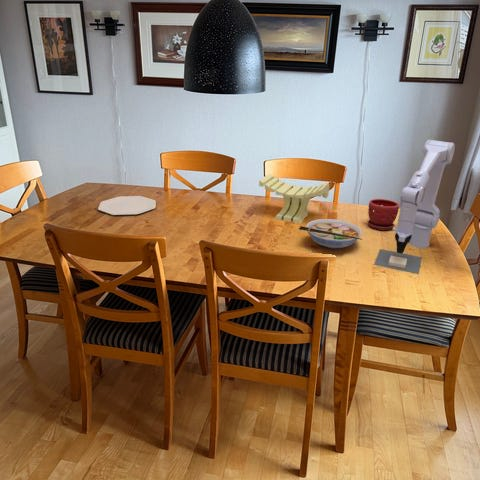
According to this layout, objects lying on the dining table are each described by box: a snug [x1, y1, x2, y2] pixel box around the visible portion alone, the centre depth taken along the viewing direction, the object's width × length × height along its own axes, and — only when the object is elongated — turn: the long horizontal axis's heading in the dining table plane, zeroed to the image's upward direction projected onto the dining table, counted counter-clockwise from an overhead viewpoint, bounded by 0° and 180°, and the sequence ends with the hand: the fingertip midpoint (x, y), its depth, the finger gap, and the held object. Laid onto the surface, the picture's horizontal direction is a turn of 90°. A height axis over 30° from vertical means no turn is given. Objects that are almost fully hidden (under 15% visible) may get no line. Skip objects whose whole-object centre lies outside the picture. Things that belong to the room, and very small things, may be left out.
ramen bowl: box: [298, 218, 363, 249], centre depth 176 cm, size 25×23×8 cm
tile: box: [388, 256, 407, 268], centre depth 161 cm, size 2×6×6 cm
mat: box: [373, 248, 423, 275], centre depth 164 cm, size 16×16×1 cm
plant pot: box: [367, 198, 400, 231], centre depth 196 cm, size 13×13×12 cm
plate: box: [97, 195, 157, 216], centre depth 213 cm, size 28×28×2 cm
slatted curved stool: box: [258, 173, 330, 224], centre depth 204 cm, size 30×16×18 cm, turn 66°
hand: (399, 252), depth 161 cm, fingers closed
